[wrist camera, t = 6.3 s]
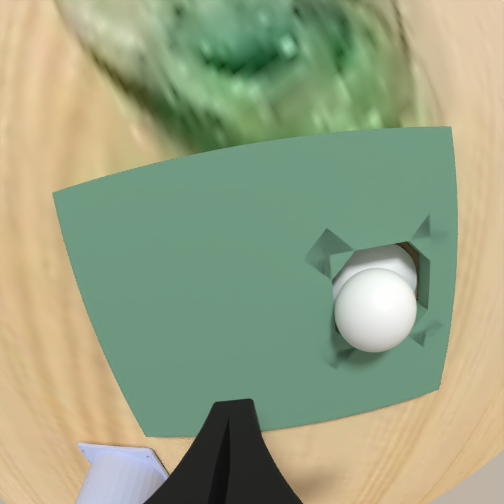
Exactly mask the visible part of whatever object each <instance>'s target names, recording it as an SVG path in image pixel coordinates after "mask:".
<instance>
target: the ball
mask: <svg viewBox="0 0 504 504" xmlns="http://www.w3.org/2000/svg"><path fill="white" fill-rule="evenodd" d="M416 313H417V304H416V298H415V295H414V292H413V290H412V288H411V286H410V285H409V283H408V282H407V281H406V280H405V279H404V278H403V277H402V276H401V275H399V274H398V273H396V272H394V271H392V270H389V269H385V268H369V269H365V270H362V271H360V272H358V273H356V274H354V275H353V276H352V277H350V278H349V279H348V280H347V281H346V282H345V283H344V285H343V286H342V287H341V289H340V291H339V293H338V295H337V298H336V301H335V308H334V315H335V321H336V325H337V327H338V330H339V332H340V334H341V335H342V336H343V338H344V339H345V340H346V341H347V342H348V343H349V344H350V345H352V346H353V347H355V348H357V349H359V350H362V351H366V352H383V351H386V350H389V349H391V348H394V347H395V346H397V345H398V344H400V343H401V342H402V341H403V340H404V339H405V338H406V337H407V336H408V334H409V333H410V331H411V329H412V327H413V325H414V322H415V319H416Z"/></svg>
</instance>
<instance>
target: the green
mask: <svg viewBox="0 0 504 504" xmlns="http://www.w3.org/2000/svg"><path fill="white" fill-rule="evenodd" d="M53 198H54V202H55V207H56V211H57V215H58V219H59V223H60V227H61V231H62V235H63V239H64V242H65V246H66V249H67V253H68V256H69V259H70V263H71V266H72V269H73V272H74V275H75V279H76V282H77V285H78V288H79V290H80V293H81V296H82V299H83V302H84V305H85V307H86V310H87V313H88V315H89V318H90V321H91V323H92V326H93V328H94V331H95V333H96V336H97V338H98V340H99V343H100V345H101V348H102V350H103V352H104V355H105V357H106V359H107V361H108V364H109V366H110V368H111V370H112V372H113V374H114V377H115V379H116V381H117V383H118V385H119V387H120V389H121V391H122V393H123V395H124V397H125V399H126V401H127V403H128V405H129V407H130V409H131V410H132V412H133V414H134V416H135V418H136V420H137V422H138V423H139V425H140V427H141V429H142V431H143V432H144V434H145V436H146V437H189V436H197V435H198V433H199V431H200V430H201V428H202V426H203V424H204V422H205V420H206V418H207V416H208V414H209V412H210V410H211V408H212V405H213V404H214V403H215V402H218V401H229V400H238V399H247V398H250V399H252V400H253V401H254V405H255V409H256V413H257V417H258V421H259V425H260V429H261V431H266V430H274V429H281V428H288V427H294V426H300V425H306V424H312V423H317V422H322V421H327V420H332V419H337V418H342V417H346V416H350V415H355V414H359V413H363V412H367V411H371V410H375V409H378V408H382V407H386V406H389V405H393V404H396V403H399V402H403V401H406V400H409V399H412V398H415V397H418V396H421V395H424V394H427V393H430V392H433V391H436V390H439V387H440V382H441V378H442V373H443V368H444V363H445V358H446V352H447V346H448V340H449V334H450V327H451V320H452V311H453V303H454V293H455V281H456V266H457V239H458V210H457V184H456V169H455V157H454V147H453V138H452V130H451V127H407V128H387V129H371V130H358V131H347V132H336V133H326V134H317V135H309V136H301V137H293V138H286V139H279V140H272V141H265V142H259V143H253V144H247V145H241V146H235V147H230V148H224V149H219V150H214V151H209V152H204V153H199V154H194V155H189V156H185V157H180V158H176V159H171V160H167V161H163V162H158V163H154V164H150V165H146V166H142V167H138V168H134V169H130V170H127V171H123V172H119V173H116V174H112V175H108V176H105V177H101V178H98V179H95V180H91V181H88V182H85V183H81V184H78V185H75V186H72V187H69V188H65V189H62V190H59V191H56V192H53ZM401 242H407V243H408V244H409V245H410V246H411V247H413V248H414V249H415V250H416V251H417V252H418V253H419V266H418V298H417V301H416V304H417V313H416V319H415V322H414V325H413V327H412V329H411V331H410V333H409V334H408V336H407V337H406V338H405V339H404V340H403V341H402V342H401V343H400V344H398V345H397V346H395V347H394V348H391V349H389V350H386V351H383V352H366V351H362V350H359V349H357V348H355V347H353V346H352V345H350V344H349V343H348V342H347V341H346V340H345V339H344V338H343V336H342V335H341V334H340V332H339V330H338V327H337V325H336V323H335V317H334V308H335V301H336V298H337V295H338V293H339V291H340V289H341V287H342V286H343V285H344V283H345V282H346V281H347V280H348V279H349V278H350V277H352V276H353V275H354V274H356V273H358V272H360V271H362V270H365V269H369V268H385V269H389V270H392V271H394V272H396V273H398V274H399V275H401V276H402V277H403V278H404V279H405V280H406V281H407V282H408V283H409V285H410V286H411V288H412V290H413V292H414V293H415V289H416V285H417V272H416V267H415V264H414V262H413V259H412V258H411V256H410V255H409V254H408V253H407V252H406V251H405V250H404V249H403V248H402V247H400V246H398V245H396V244H395V243H401ZM332 280H333V281H332Z"/></svg>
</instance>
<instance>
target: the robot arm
mask: <svg viewBox="0 0 504 504" xmlns="http://www.w3.org/2000/svg"><path fill="white" fill-rule="evenodd" d="M78 448H79V449H80V450H81V452H82V453H83V454H84V456H85V457H86V458H87V460H88V461H89V462H90V463H91V466H90V468H89V471H88V473H87V475H86V478H85V480H84V483H83V485H82V488H81V490H80V492H79V495H78V497H77V500H76V503H75V504H303V503H302V502H301V500H300V499H299V498H298V497H297V495H296V494H295V493H294V492H293V490H292V489H291V487H290V486H289V485H288V483H287V482H286V480H285V479H284V477H283V476H282V474H281V473H280V471H279V469H278V468H277V466H276V464H275V462H274V461H273V459H272V457H271V455H270V453H269V451H268V449H267V447H266V445H265V443H264V440H263V438H262V434H261V429H260V425H259V421H258V417H257V413H256V409H255V405H254V401H253V400H252V399H250V398H247V399H238V400H229V401H218V402H215V403H214V404H213V405H212V408H211V410H210V412H209V414H208V416H207V418H206V420H205V422H204V424H203V426H202V428H201V430H200V431H199V433H198V435H197V437H196V438H195V440H194V442H193V443H192V445H191V447H190V448H189V450H188V451H187V453H186V454H185V456H184V457H183V459H182V460H181V461H180V463H179V464H178V466H177V467H176V468H175V470H174V471H173V472H172V473H171V475H170V476H169V475H168V473H167V472H166V470H165V469H164V467H163V466H162V464H161V462H160V461H159V459H158V458H157V456H156V454H155V453H154V451H153V450H152V449H149V448H138V447H121V446H109V445H98V444H89V443H79V444H78Z"/></svg>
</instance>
